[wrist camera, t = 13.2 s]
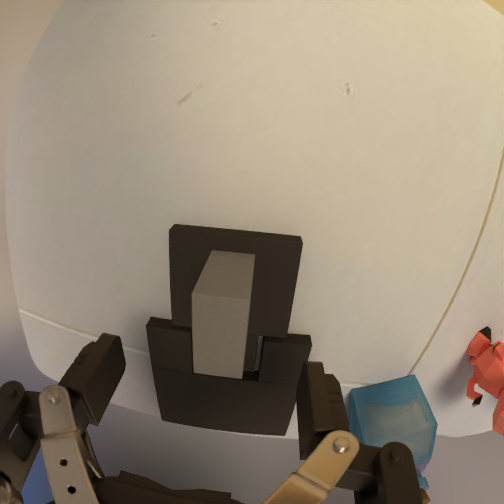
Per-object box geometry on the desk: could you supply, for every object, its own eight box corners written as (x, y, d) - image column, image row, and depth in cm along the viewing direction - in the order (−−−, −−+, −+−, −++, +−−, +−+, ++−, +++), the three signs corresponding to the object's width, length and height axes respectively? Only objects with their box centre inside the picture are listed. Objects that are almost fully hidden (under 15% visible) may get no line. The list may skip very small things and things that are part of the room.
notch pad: (164, 411, 26) (161, 420, 25) (150, 316, 22) (145, 325, 20) (284, 426, 26) (285, 435, 25) (310, 334, 21) (312, 344, 20)
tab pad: (178, 352, 23) (156, 413, 17) (174, 223, 19) (133, 266, 13) (278, 363, 23) (279, 429, 17) (300, 236, 19) (315, 285, 13)
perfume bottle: (349, 426, 26) (367, 527, 15) (351, 389, 24) (377, 508, 12) (404, 413, 25) (435, 506, 14) (414, 374, 23) (459, 480, 12)
